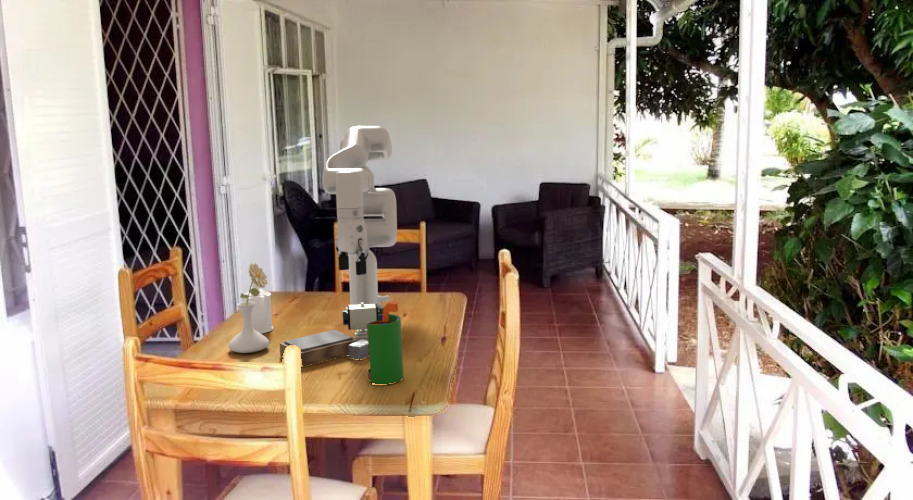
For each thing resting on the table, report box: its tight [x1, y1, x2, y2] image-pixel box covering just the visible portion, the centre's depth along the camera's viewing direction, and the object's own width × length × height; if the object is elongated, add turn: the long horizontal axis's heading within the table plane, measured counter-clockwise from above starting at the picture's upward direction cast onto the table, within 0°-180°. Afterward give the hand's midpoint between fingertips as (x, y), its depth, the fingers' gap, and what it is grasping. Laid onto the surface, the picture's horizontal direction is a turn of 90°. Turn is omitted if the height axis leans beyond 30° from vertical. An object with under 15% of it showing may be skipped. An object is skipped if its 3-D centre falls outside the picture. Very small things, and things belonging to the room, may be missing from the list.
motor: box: [367, 301, 404, 384], centre depth 185 cm, size 10×9×20 cm
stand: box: [279, 329, 358, 368], centre depth 205 cm, size 18×12×5 cm, turn 130°
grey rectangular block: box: [348, 339, 369, 361], centre depth 203 cm, size 6×4×4 cm, turn 149°
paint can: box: [239, 281, 274, 335], centre depth 228 cm, size 10×9×20 cm
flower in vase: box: [227, 262, 270, 354], centre depth 209 cm, size 13×11×25 cm
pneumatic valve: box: [341, 303, 384, 341], centre depth 216 cm, size 6×12×12 cm, turn 101°
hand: (352, 271), depth 213 cm, fingers open, 9 cm apart
